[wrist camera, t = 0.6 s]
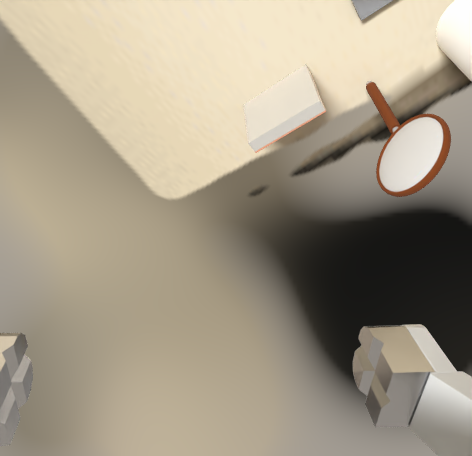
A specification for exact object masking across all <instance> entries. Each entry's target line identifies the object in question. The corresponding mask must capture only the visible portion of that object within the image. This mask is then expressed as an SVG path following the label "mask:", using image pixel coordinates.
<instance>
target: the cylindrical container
mask: <svg viewBox="0 0 472 456" xmlns="http://www.w3.org/2000/svg"><path fill="white" fill-rule="evenodd" d="M436 41H437V44H438V46H439V47H440V49H441V50H442V51H443V52H444V53H445V54H446V55H447V56H448V57H449V58H450V60H451V61H452V62H453V63H454V64H455V65H456V66H457V67H458V68H459V69H460V70H461V71H462V72H463V73H464V74H465V75H466V76H467V77H468V78H469V79H470V81H471V82H472V0H455V1H454V2H453V3H452V4H451V5H450V6H449V7H448V8H447V9H446V10H445V12H444V13H443V15H442V16H441V18H440V20H439V23H438V25H437V29H436Z"/></svg>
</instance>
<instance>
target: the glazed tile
mask: <svg viewBox="0 0 472 456" xmlns="http://www.w3.org/2000/svg"><path fill="white" fill-rule="evenodd" d="M244 112H245V121H246V129H247V137H248V144H249V145H250V146H251V147H252V149H253V150H254V151H255V152H256V153H257V152H258V151H260V150H262V149H263V148H265V147H267V146H269V145H270V144H272V143H274V142H275V141H277V140H279V139H280V138H282V137H284V136H286V135H287V134H289V133H291V132H292V131H294V130H296V129H297V128H299V127H301V126H303V125H304V124H306V123H308V122H309V121H311V120H313V119H314V118H316V117H318V116H320V115H321V114H323V113H325V112H326V110H325V107H324V104H323V102H322V99H321V97H320V94H319V92H318V89H317V87H316V84H315V81H314V79H313V76H312V74H311V72H310V71H309V69H308V67H307V65H306V64H305V65H303V66H302V67H300V68H299V69H297V70H296V71H294V72H293V73H291V74H289V75H288V76H286V77H285V78H283V79H282V80H280V81H279V82H277V83H275V84H274V85H272V86H271V87H269V88H268V89H266V90H265V91H263V92H261V93H260V94H258V95H257V96H255V97H254V98H252V99H251V100H249V101H247V102H246V103H244Z"/></svg>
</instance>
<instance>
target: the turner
mask: <svg viewBox="0 0 472 456" xmlns="http://www.w3.org/2000/svg"><path fill="white" fill-rule="evenodd" d="M391 1H393V0H352V2H353V5H354V7H355V9H356V11H357V13H358V16H359V18H360V19H361V21H362V20H363V19H365V18H366V17H368V16H369V15H371V14H373V13H374V12H376V11H377V10H379V9H380V8H382V7H383V6H385V5H386V4H388V3H390V2H391Z"/></svg>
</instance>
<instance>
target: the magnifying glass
mask: <svg viewBox="0 0 472 456" xmlns="http://www.w3.org/2000/svg"><path fill="white" fill-rule="evenodd" d="M366 85H367V86H366V89H367V91H368V93H369V95H370V97H371V98H372V100H373V102H374V104H375V106H376V107H377V109H378V111H379V113H380V115H381V116H382V118H383V120H384V122H385V123H386V125H387V127H388V129H389V131H390V132H391V134H392V135H391V136H390V138H389V139H388V140H387V142H386V144H385V145H384V147H383V149H382V151H381V154H380V156H379V159H378V163H377V171H376V173H377V180H378V183H379V185H380V187H381V188H382V190H384V191H385V192H386V193H387V194H390V195H392V196H397V197H402V196H408V195H411V194H413V193H415V192H417V191H419V190H421V189H422V188H424V187H425V186H426V185H427V184H429V183H430V182H431V180H433V178H434V177H435V176H436V175H437V174H438V172H439V171H440V169H441V168H442V166H443V164H444V163H445V160H446V158H447V156H448V153H449V149H450V143H451V135H450V130H449V127H448V125H447V124H446V122H445V121H444V120H443V119H442V118H440V117H439V116H436V115H434V114H421V115H418V116H415V117H413V118H411V119H409V120H407V121H406V122H404V123H403V124H402V125H401V126H400V124H399V122H398V121H397V119H396V117H395V116H394V114H393V112H392V111H391V109H390V107H389V106H388V104H387V102H386V101H385V99H384V97H383V96H382V94H381V92H380V91H379V89H378V87H377V86H376V84H375V83H374V82H371V81H368V82H367V83H366Z"/></svg>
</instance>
